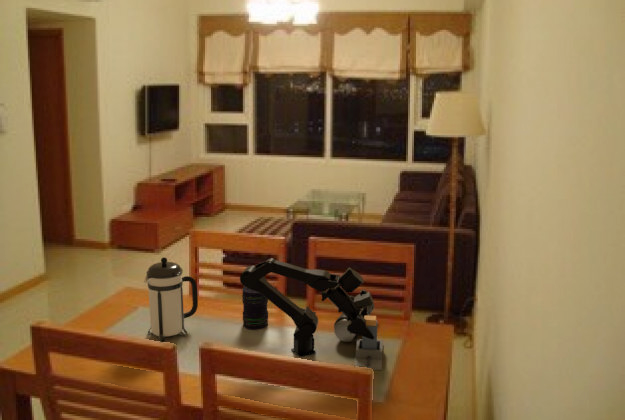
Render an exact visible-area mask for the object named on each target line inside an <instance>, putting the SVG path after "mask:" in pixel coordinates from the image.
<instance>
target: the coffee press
mask: <svg viewBox="0 0 625 420" xmlns="http://www.w3.org/2000/svg"><path fill="white" fill-rule="evenodd" d="M145 275H146V276H145V278H144V283H145V284H146V283H147V288H148V302H149V305H148V306H149V319H150V320H149V321H150V322H149V323H150V327H149V329H148V331H147V333H148V334H149V335H152V334H153V335H155V336H158V342H159V341H163V342H164V341H165V338H166V337H172V336H177V335H178V334H180V335H182V336H183V337H186V336H187V335H188V331H187V330H186V328H185V319H188V318H190V317H192V316H194V315H195V313H196V312H197V310H198V305H199V299H198V284H197V281H196V280H195V279H194V278H193V277H192V276H190V275H189V276H188V275H187V276H183V277H182V275H183V268H182V267H181V266H180V264H178V263H176V262H173V261H168V258H167V257H162V258H161V260H160V261H159V262H156V263H153V264H151V265H150V266H149V267H148V268H147V271H146V274H145ZM184 282H189V283H190V284H191V293H192V294H191V295H192V297H191V298H192V307H191V309H190V310H189V311H187V312H184V296H183V294H184V293H183V283H184Z"/></svg>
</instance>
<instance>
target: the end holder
mask: <svg viewBox="0 0 625 420" xmlns="http://www.w3.org/2000/svg"><path fill="white" fill-rule="evenodd" d="M383 343H384V340H383V339H382V340H381V339H377V350H369V349H362V338H356V345H355V347H356V348H355V359H354V367H355V366H359V367H367V368H372V369H373V370H374V371H382V370H383V348H384V347H383Z"/></svg>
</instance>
